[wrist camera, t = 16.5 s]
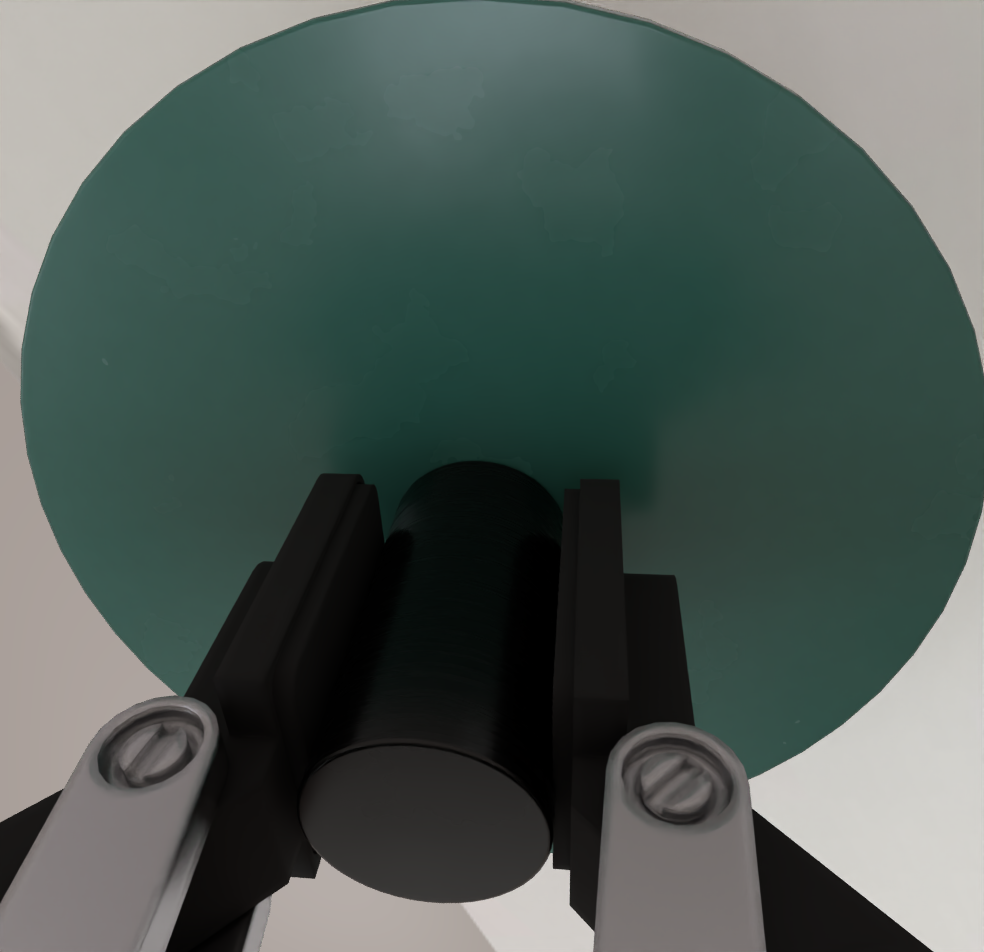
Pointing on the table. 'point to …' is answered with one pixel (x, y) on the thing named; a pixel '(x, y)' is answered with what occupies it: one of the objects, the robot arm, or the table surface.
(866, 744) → the table surface
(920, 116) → the table surface
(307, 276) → the lid
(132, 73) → the table surface
